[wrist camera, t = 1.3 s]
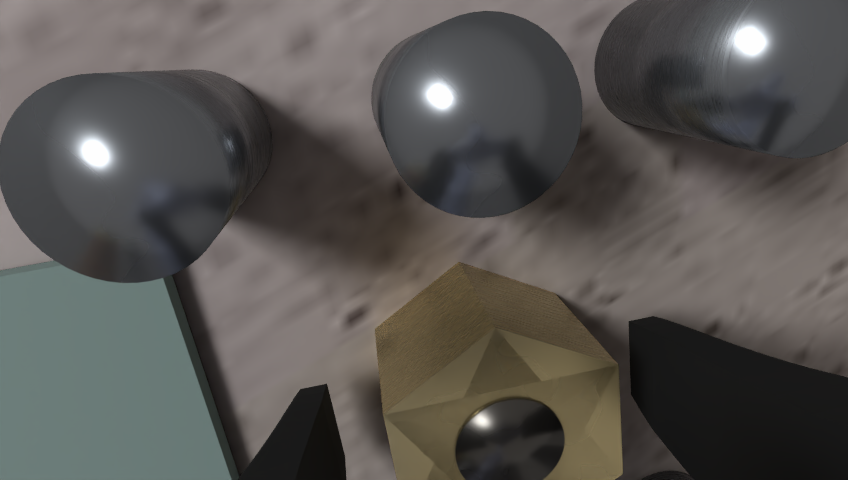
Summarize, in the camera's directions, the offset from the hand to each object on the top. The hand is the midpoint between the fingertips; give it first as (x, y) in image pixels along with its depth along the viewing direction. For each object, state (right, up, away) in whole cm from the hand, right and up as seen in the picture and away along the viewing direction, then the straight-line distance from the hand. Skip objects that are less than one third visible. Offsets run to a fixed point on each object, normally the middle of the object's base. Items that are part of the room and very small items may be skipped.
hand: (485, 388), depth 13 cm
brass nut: (0, +1, +1) cm, 2 cm away
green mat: (-10, -1, +1) cm, 10 cm away
